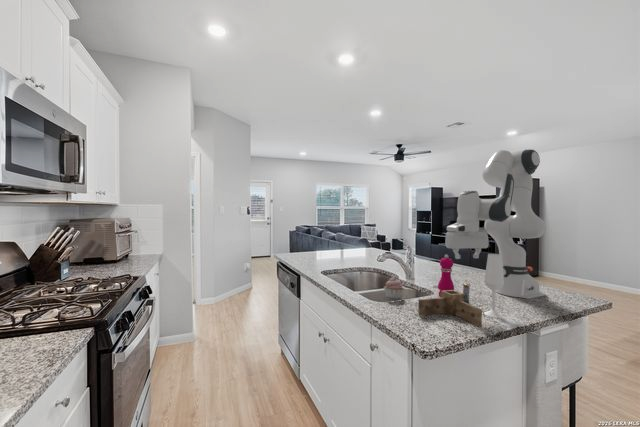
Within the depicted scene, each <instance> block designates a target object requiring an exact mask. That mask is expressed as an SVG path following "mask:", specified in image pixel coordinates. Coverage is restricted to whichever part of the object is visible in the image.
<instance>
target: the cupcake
mask: <svg viewBox="0 0 640 427" xmlns="http://www.w3.org/2000/svg"><path fill="white" fill-rule="evenodd" d="M383 290H384V291H385V296H386V299H388V300H397V301H398V300H400V299H401V297H402V295H403V294H402V293H403V291H404V290H405V288H404V287H403V284H402V283H401V281H400V280H399V279H398V278H396V277H395V276H393V277H390V279H389V280H387V281H386V282H385V285H384V286H383Z"/></svg>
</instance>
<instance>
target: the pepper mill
mask: <svg viewBox="0 0 640 427" xmlns="http://www.w3.org/2000/svg"><path fill="white" fill-rule="evenodd" d="M439 266H440V271H441V276H440V280H439V281H438V283H437V289H438V290H439V291H438V296H439V298H441V291H444V290H455V285H454V282H453V280H452V272H453V266H454V261H453V260H452V258H449V255H448V254H445V255H444V257H442V258H441V259H440V260H439Z"/></svg>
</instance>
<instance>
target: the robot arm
mask: <svg viewBox="0 0 640 427" xmlns="http://www.w3.org/2000/svg"><path fill="white" fill-rule="evenodd" d="M540 159H541V158H540V155H539V152H537V151H536V150H535V149H524V150H520V151H514V152H511V151H508V150H505V149H502V150H501V149H500V150H498V151H495V152H494V153H493V154H492V155H491V157H490V158H489V160H488V161H487V162H486V165H485V166H484V168H483V170H482V179H483V180H484V182H485V183H486V184H487V185H489V186H491V187H494V188H499V189H500V191H499V196H498V197H495V198H480V196H479V192H478V191H476V190H467V191H461V192H460V193H458V194H459V195H458V199H457V206H456V211H457V218H456V222H455V223H452V224H449V225H447V226H446V231H447V232H446V234H445V238H444V240H445V242H444V245H445V247H446V248H447V249H451V250H452V252H453V254H454V258H455V259H456V260H460V259H461V254H459V251H460V250H462V249H474V250H475V252H474V253H473V254H472V258H473V259H479V256H480V253H481V252H482V249H487V248H489V246H490V244H489V243H490V242H489V241H490V240H489V236H491V238H493V240H494V242H495V243H496V245H497V247H498V254H500V255H502V262H503V274H504V285H503V286H502V287H501V288H500V289H498V290H496V294H499V295H504V296H508V297H514V298H522V299H528V300H529V299H534V298H539V297H545V296H546V294H547V293H546V292H544V291H542V290H541V289H540V283H539V281H537V279H535V278H534V277H533V276H531V275H530V273H529V272H532V271H533V270H534V268H533V267H532V266H526V265H527V262H526V260H527V257H526V256H527V252H526V250H525V248H524V247H522V246H521V245H519V244H517V243H515V241H514V239H515V238H519V239H538V238H541V237H542V236H543V235H544V234H545V231H546V226H547V225H546V224H545V221H544V220H543V219H542V218H541V217H539V216H538V215H536V213H535V211H533V208H532V197H533V196H532V194H533V186H534V185H533V184H534V182H533V181H534V180H533V176H532V175H533V174H534V173H535V171H536V170H537V169H538V167H539V166H540V162H541V160H540ZM512 212H515V214H514V215H511V213H512ZM480 221H484V225H483V227H480ZM513 238H514V239H513Z"/></svg>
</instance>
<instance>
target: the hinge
mask: <svg viewBox="0 0 640 427" xmlns="http://www.w3.org/2000/svg"><path fill="white" fill-rule="evenodd" d="M463 298H464V294H463V293H462V292H459V291H457V290H455V289H454V290H444V291H441V297H433V298H422V299H421V298H419V299H418V303H417V304H418V308H417V312H418V315H419V316H426V315H427V316H428V315H438V314H447V315H449V316H454V315H455V316H457V317H460V318H462V319H464V320H466V321H467V322H469V323H471V324H474V325H475V326H477V327H482V326H483V325H482V324H483V322H482V320H483V309H482V308H479V307H477V306H474V305H472V304H470V303H469V304H468V303H465V302H463ZM418 315H417V316H418Z"/></svg>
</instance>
